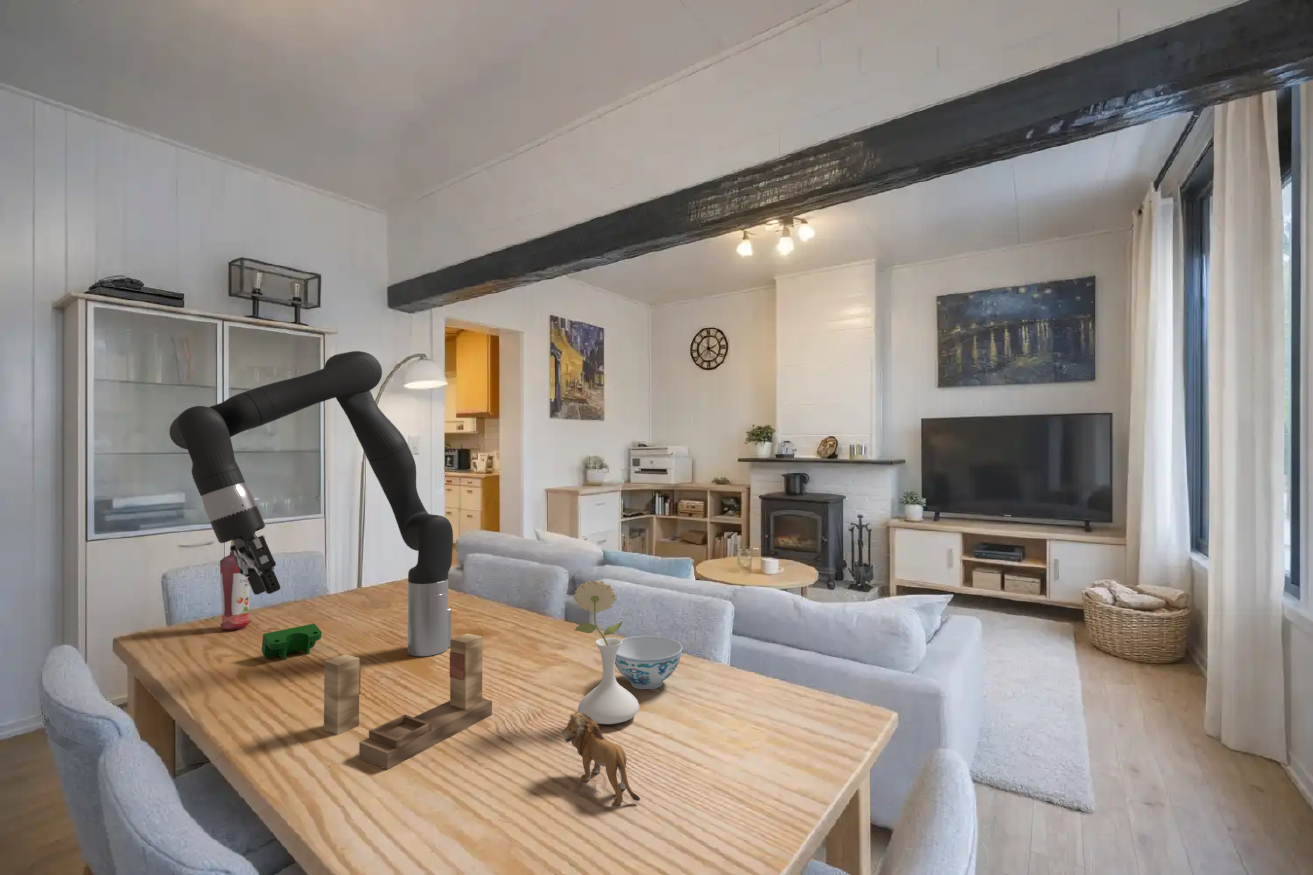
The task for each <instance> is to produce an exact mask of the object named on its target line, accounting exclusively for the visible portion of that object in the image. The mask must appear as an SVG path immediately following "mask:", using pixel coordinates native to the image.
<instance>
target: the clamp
mask: <svg viewBox="0 0 1313 875" xmlns="http://www.w3.org/2000/svg"><path fill="white" fill-rule="evenodd" d="M322 633H323V632H322V630H321V629H320V628H319V627H318V626H317V625H316V624H315V623H311V624H305V625H299V626H295V627H290V628H286V629H281V630H280V629H279V630H276V631H271V632H267V633H263V634H262V641H261V642H262V643H261V653H262V654H263V656H264V657H265V658H266V659H271V658H276V657H280V658H281V659H282V661H285V660H287V655H288V654H287V653H289V654H293V653H296V652H300V651H301V652H303V653H305V654H306V653H307V654H306V655H310V651H311V649H313V648H314V647H315V645H316V643H317V641H319V640H321V639H322V635H323V634H322ZM279 655H280V656H279Z"/></svg>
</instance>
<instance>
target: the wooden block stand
mask: <svg viewBox="0 0 1313 875" xmlns="http://www.w3.org/2000/svg"><path fill="white" fill-rule="evenodd" d="M449 649H450V650H449V651H450V652H449V678H450V679H449V680H450V682H449V683H450V684H449V686H450V687H449V688H450V689H449V691H450V692H449V700H448V701H446V702H444V703H441V704H440V705H438V706H435V707H433V708H431V709H428V710H426V711H424V712H422V713H420V714H417V715H415V716H410V715H407V714H403V715H401V716H399V717H397V718H394V719H392V720H390V721H387V722H385V723H382V724H381V725H378V726H376V727H374V728H372V729H370V730H368V737H367V738H365V739H364V740H361V741H359V742H358V744H359V745H358V746H359V749H358V750H359V752H358V753H359V754H358V755H359V756H358V757H359V759H361V760H363V761H366V762H368V763H370V764H373V765H376V766H378V767H380V768H383V769H384V770H389V769H391V768H394V767H395V766H398V765H400V764H401V763H402V762H404V761H407V760H409V759H411V758H412V757H414V756H417V755H418V754H420V753H422V752H424V751H426V750H428V749H429V748H431V747H433V746H435V745H437V744H439V743H441V742H443V741H444V740H446V739H449V738H450V737H452V736H454V735H456V734H458V733H460V732H462V731H464V730H465V729H468V728H469V727H471V726H473V725H474V724H477V723H479V722H481V721H482V720H484V719H486V718H488V717H490V716H491V715H493V700H490V699H486V698H483V635H482V636H481V635H477V634H472V633H467V632H466V633H464V634H461V635H458V636H455V637H453V638H452V637H451V639H450V647H449Z"/></svg>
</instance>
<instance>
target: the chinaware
mask: <svg viewBox="0 0 1313 875" xmlns="http://www.w3.org/2000/svg"><path fill="white" fill-rule="evenodd" d="M620 640H622V644H621V645H620V646H619V648H618V651H617V654H616V659H615V668H617V670H618V671H619V673H620V674H621V675H622V676H623V677H624V678H625V679H626V680H628V681H629V682H630V684H631V687H633V688H635V689H638V690H642V689H651V690H656V689H658V687H659V688H661V687H662V686H663V684H664V683H663V682H664V681H665V680H666V679H668V678H670V676H671V675H673V673H674V672H675V671H676V669H677V668H678V665H679V663H680V660H681V658H682V652H683V645H682V644H681V642H679V641H677V640H675V639H674V638H673V639H672V638H669V637H667V636H666V637H664V636H658V635H639V636H638V635H637V636H636V635H635V636H629V637H625V638H622V639H620ZM661 685H662V686H661Z"/></svg>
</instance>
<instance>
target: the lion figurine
mask: <svg viewBox="0 0 1313 875" xmlns="http://www.w3.org/2000/svg"><path fill="white" fill-rule="evenodd" d="M561 735H562V737H563V738H564V741H565V743H571V744H572V747H574V748H576V751H577V754H578V755H579V756H581V757H582V758H581V759H582V766H583V769H584V774H582V775H581V777H580V781H581V782H588V781H590V779H591V775H592V773H593V774H595V773H596V774H599V773H601V767H604V768H605V773H606V775H607V779H608V781H609V783H610V785H611V787H612V788H613V790H614V793H615V795H616V796H615V797H613V804H614V805H616V806H618V805H620V804H622V803H623V800H624V799H623V798H624V797H623V792H622V791H623V790H625V789H626V791H627V792H628V794H629V796H630V798H631V799H633V801H637V802H640V800H641V797H640V796H639V795H638V794H636V793H635V792H633V791H632V789H631V787H630V785H629V784H630V783H629V780H628V776H627V772H626V771H627V770H626V767H627V756H626V753H625V751H624V748H623V747H622V746H621V745H620V744H618V743H614V742H611V741H610V740H608V738H605V737H604V736H603V734H602V730H601V728H600V726H599V725H598V723H595V722H594V720H593V719H591V718H590V717H589V716H587V715H586V714H583V713H580V712H578V711H577V712H574V713H571V714H570V720H569V722H567V726H566V727H565V728H564V729H563V730H562V731H561ZM592 760H593V761H594V766H593V768H592V769H591V766H590V765H591V764H592ZM591 771H592V772H591ZM617 772H619V775H620V782H619V781H618V776H617Z"/></svg>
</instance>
